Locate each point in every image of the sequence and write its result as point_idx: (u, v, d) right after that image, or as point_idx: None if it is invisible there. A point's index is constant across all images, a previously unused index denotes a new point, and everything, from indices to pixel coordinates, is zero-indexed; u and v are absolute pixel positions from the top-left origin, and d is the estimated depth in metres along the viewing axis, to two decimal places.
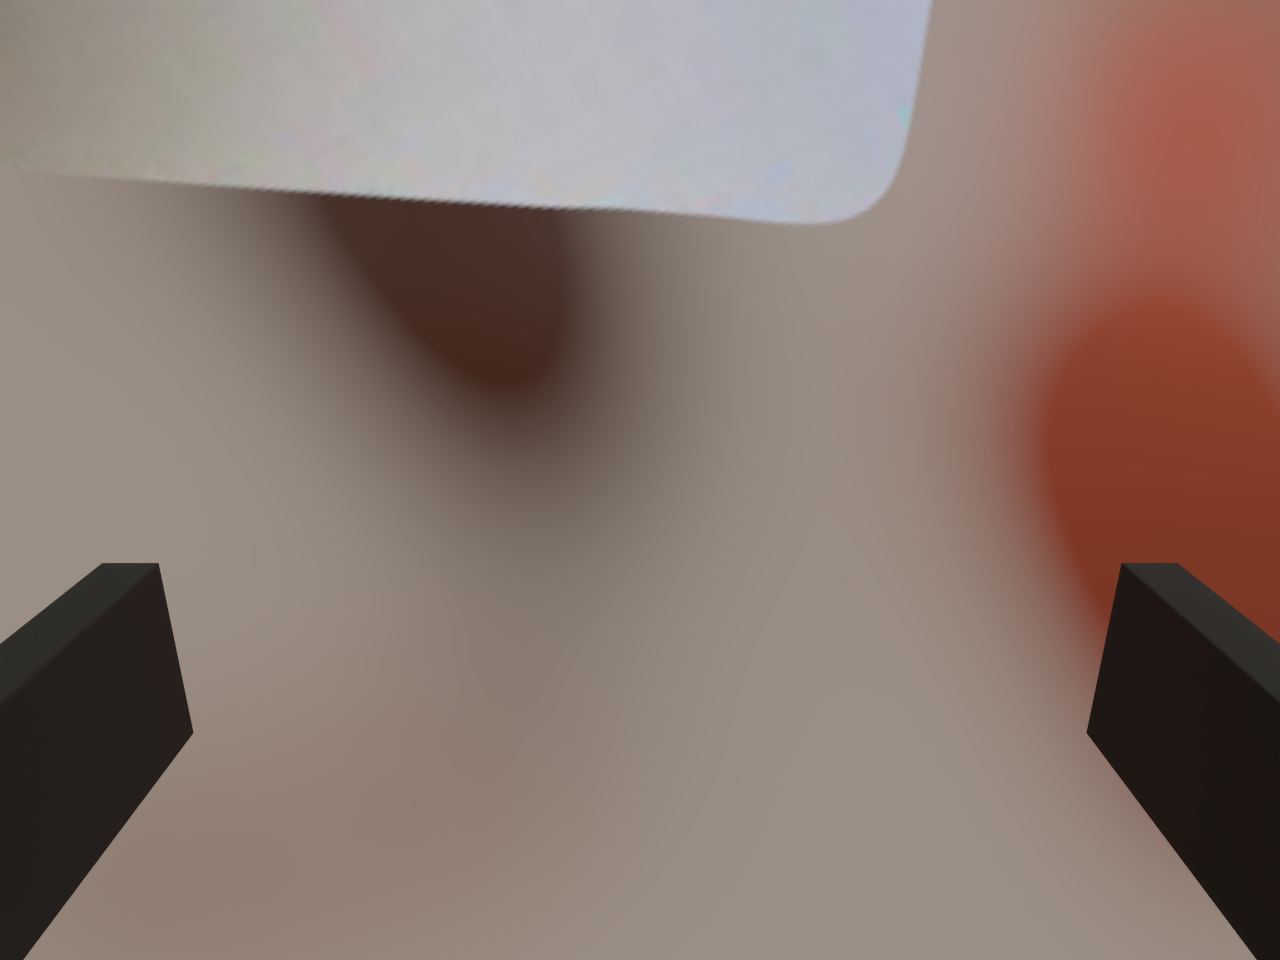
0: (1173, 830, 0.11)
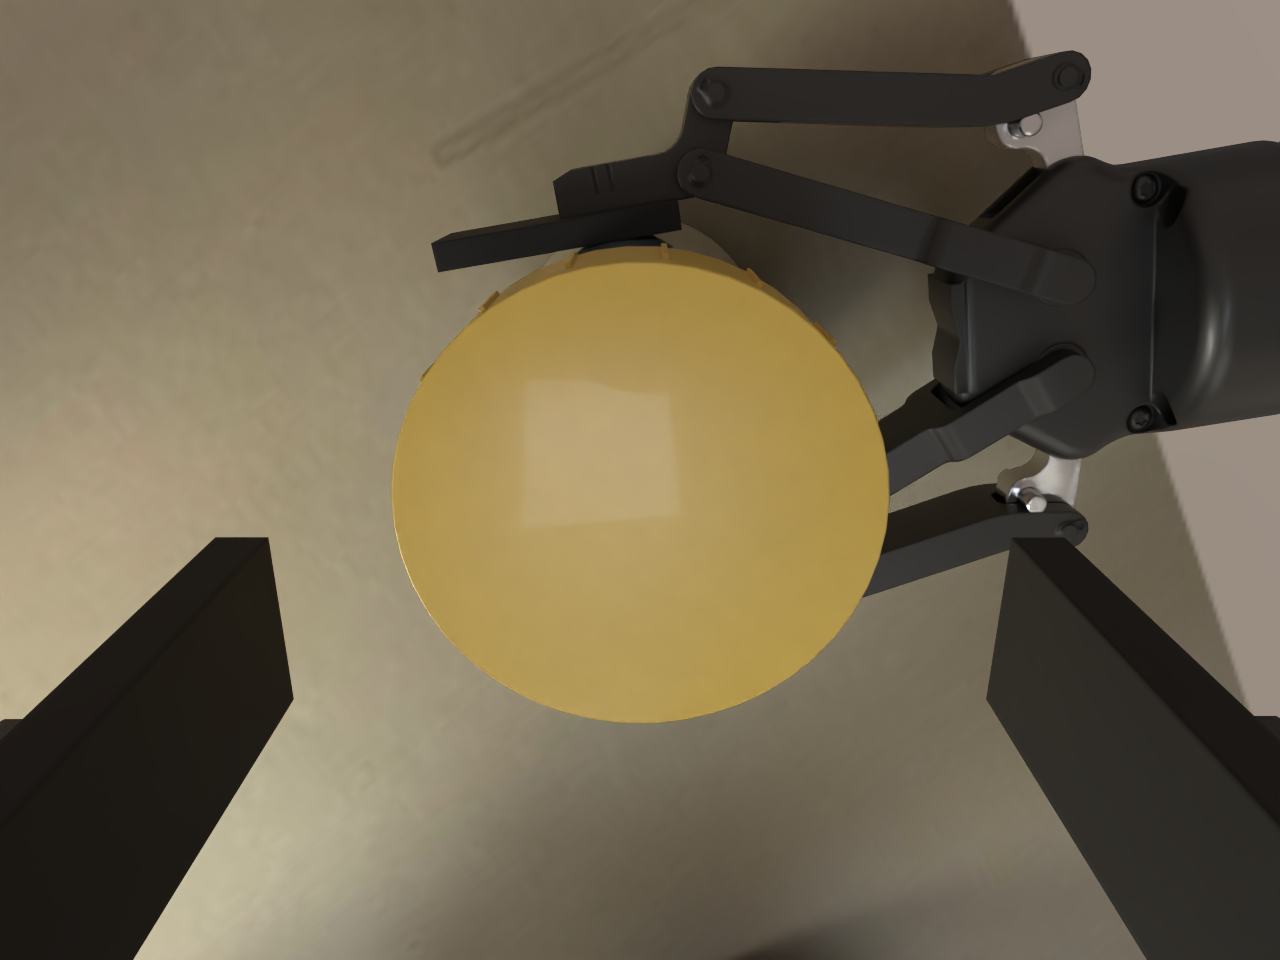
0: (1048, 784, 0.12)
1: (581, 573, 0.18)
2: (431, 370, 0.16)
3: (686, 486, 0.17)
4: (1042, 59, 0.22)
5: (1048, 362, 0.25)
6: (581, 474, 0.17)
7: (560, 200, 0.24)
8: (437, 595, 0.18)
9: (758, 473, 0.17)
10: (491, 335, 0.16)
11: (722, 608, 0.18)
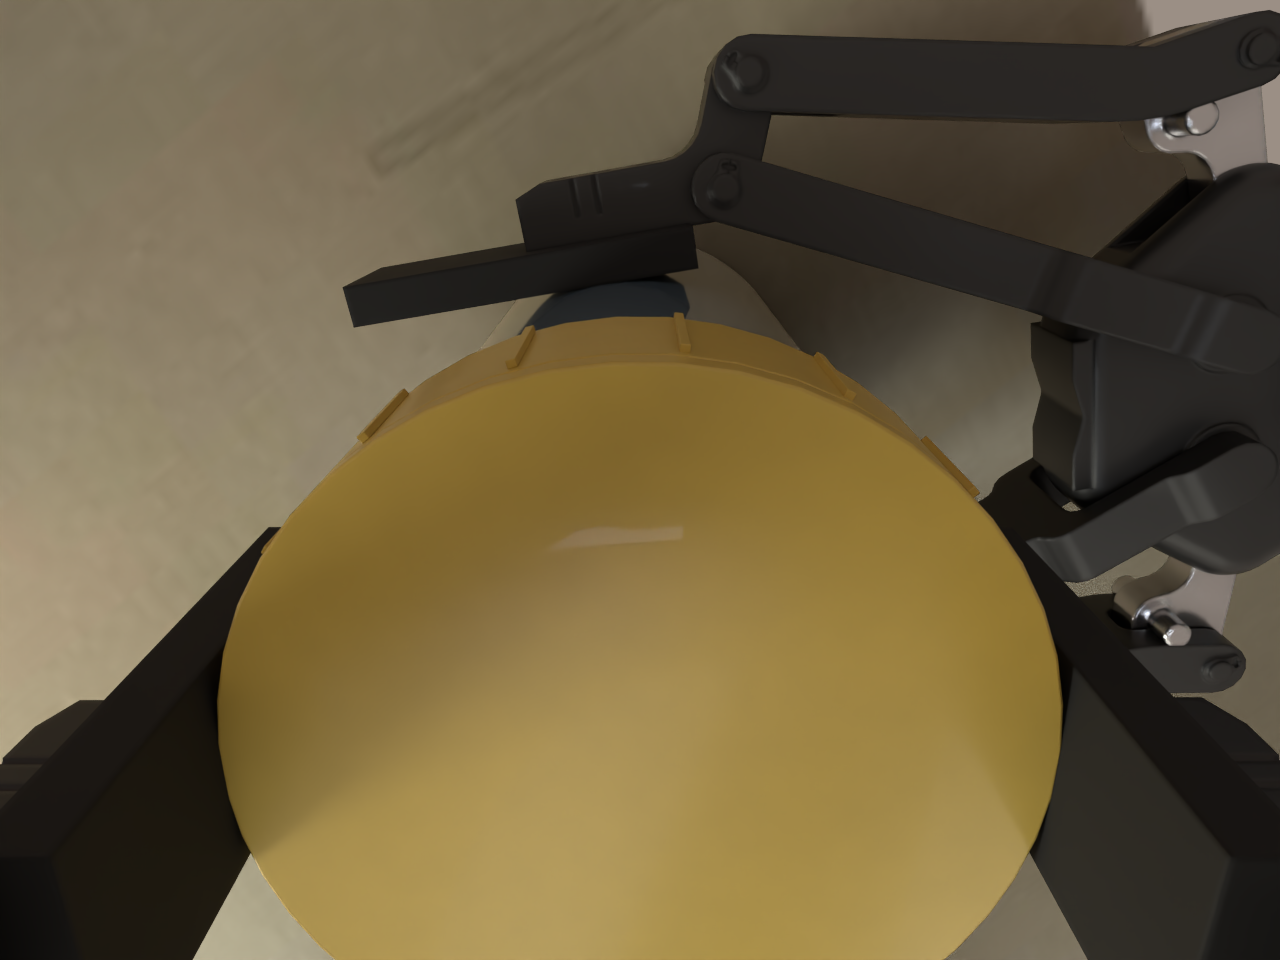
0: None
1: (542, 859, 0.11)
2: (271, 547, 0.09)
3: (718, 730, 0.10)
4: (1224, 23, 0.15)
5: (1209, 451, 0.18)
6: (539, 711, 0.10)
7: (527, 227, 0.17)
8: (305, 892, 0.11)
9: (841, 709, 0.10)
10: (374, 489, 0.09)
11: (774, 910, 0.11)
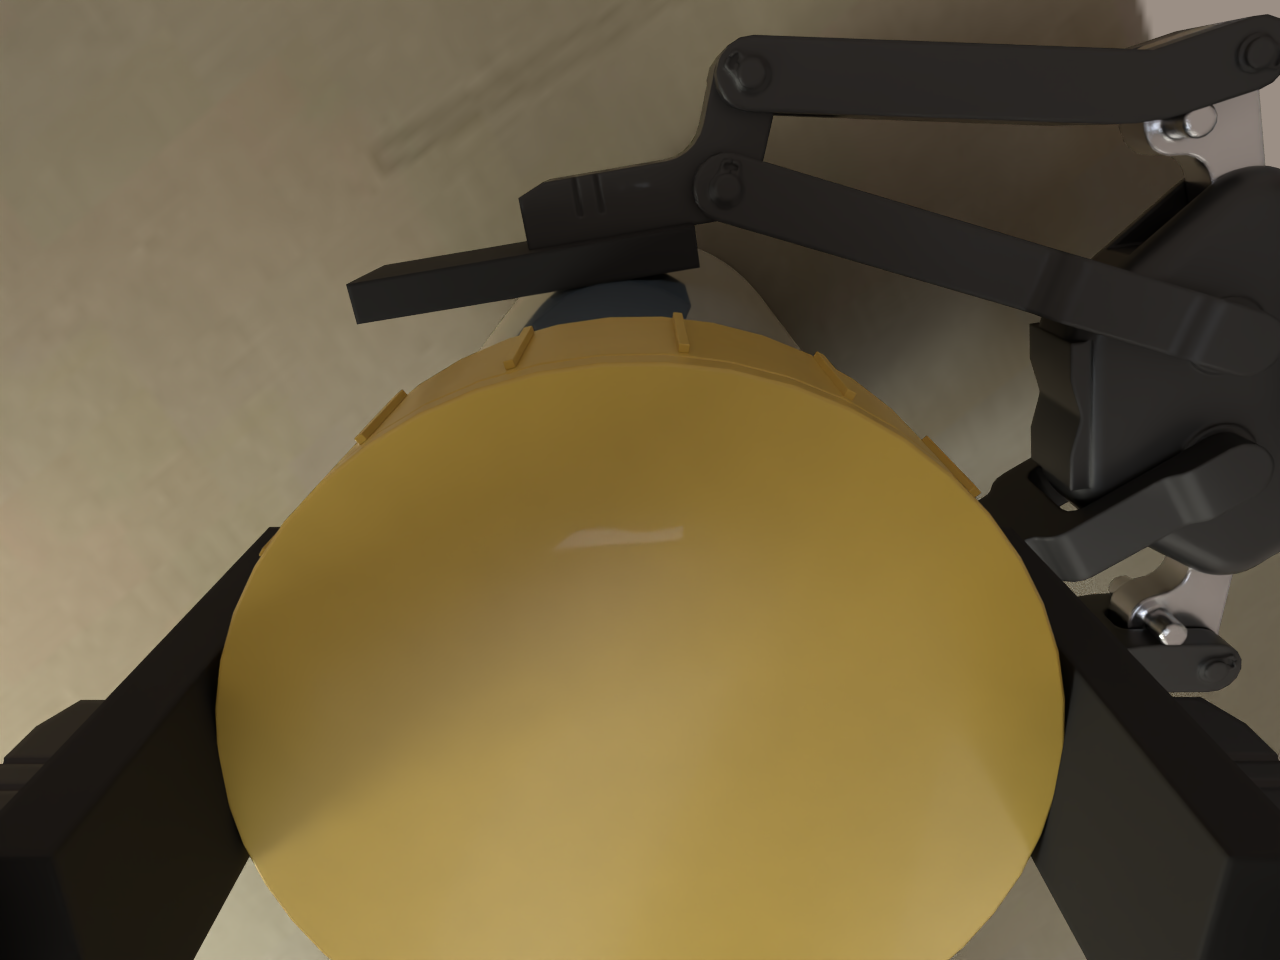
0: None
1: (771, 829, 0.10)
2: None
3: (567, 725, 0.10)
4: (1223, 27, 0.15)
5: (1206, 452, 0.18)
6: (599, 865, 0.11)
7: (530, 225, 0.17)
8: None
9: (505, 626, 0.10)
10: None
11: (782, 608, 0.09)
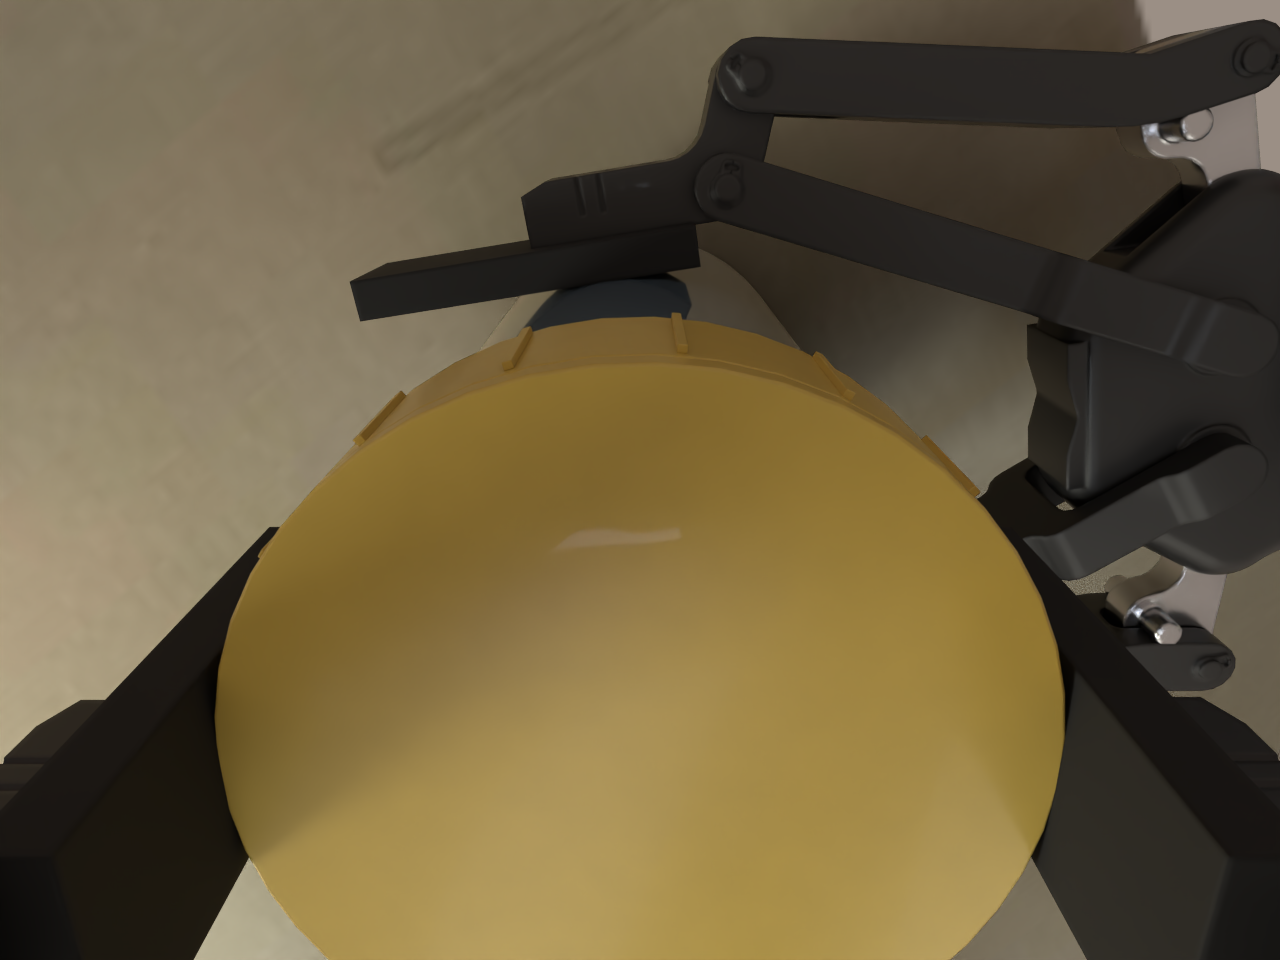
0: None
1: (670, 646, 0.10)
2: (1051, 805, 0.10)
3: (603, 843, 0.10)
4: (1220, 31, 0.16)
5: (1201, 452, 0.18)
6: (761, 783, 0.10)
7: (532, 224, 0.17)
8: (891, 476, 0.09)
9: (521, 904, 0.11)
10: (985, 882, 0.11)
11: (416, 713, 0.10)
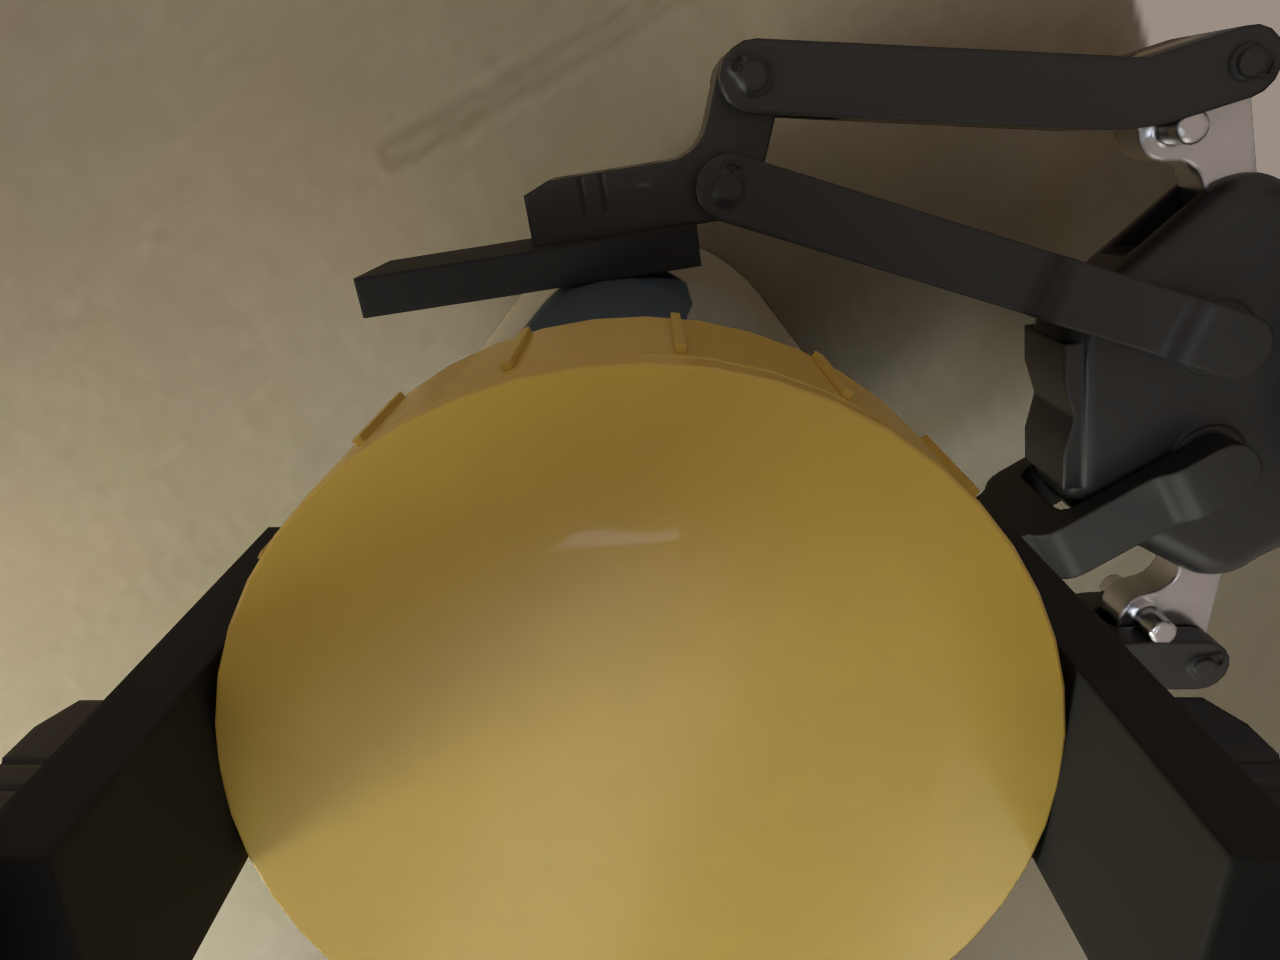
0: None
1: (490, 787, 0.10)
2: (543, 377, 0.09)
3: (731, 786, 0.10)
4: (1216, 36, 0.16)
5: (1196, 452, 0.18)
6: (614, 672, 0.10)
7: (535, 222, 0.17)
8: (254, 670, 0.10)
9: (830, 835, 0.10)
10: (675, 404, 0.09)
11: (629, 949, 0.11)
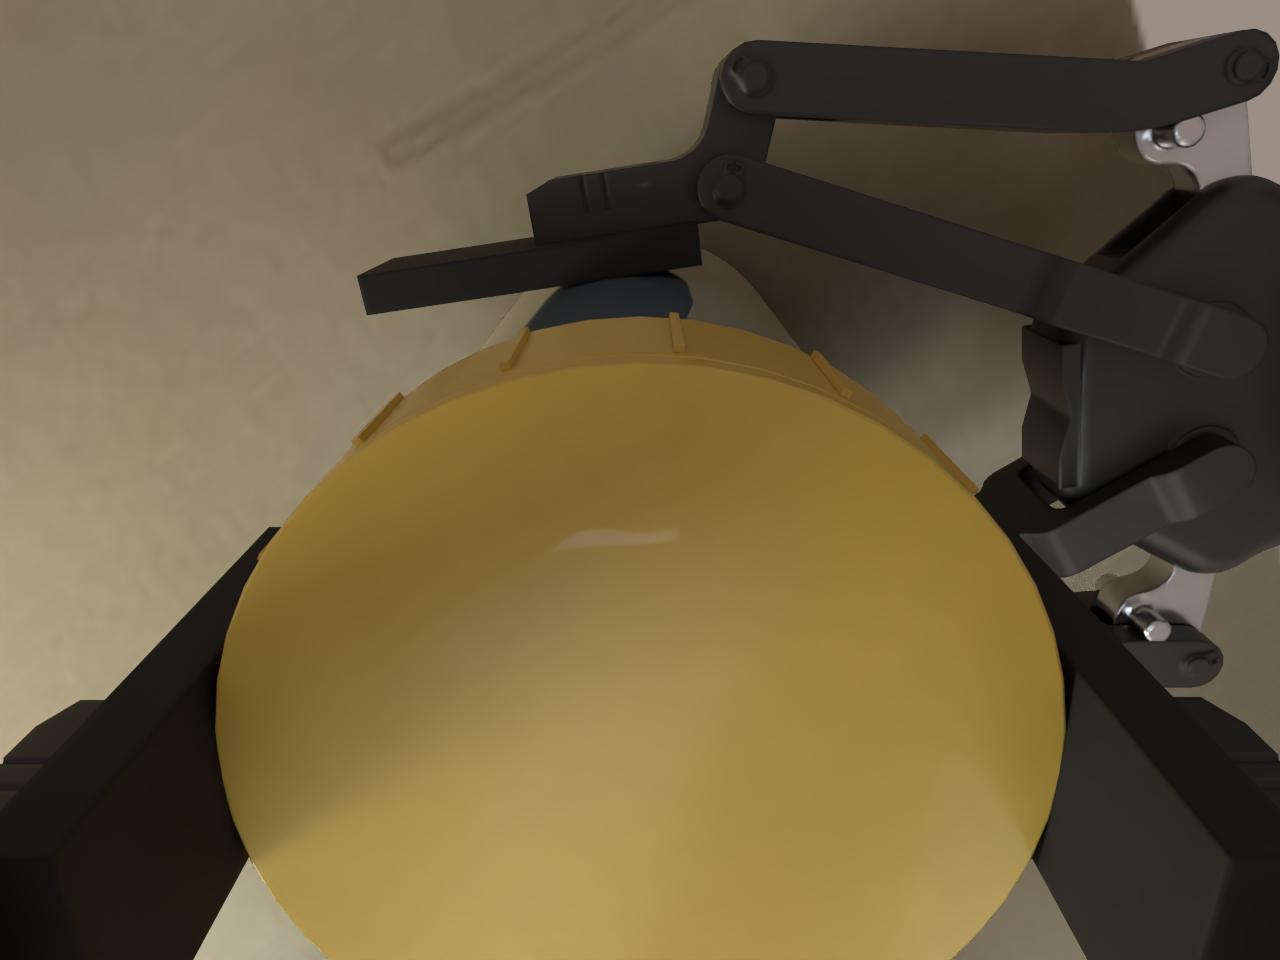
0: None
1: (692, 885, 0.11)
2: None
3: (627, 698, 0.10)
4: (1212, 40, 0.16)
5: (1191, 453, 0.18)
6: (534, 821, 0.10)
7: (537, 221, 0.18)
8: None
9: (660, 588, 0.09)
10: (272, 839, 0.10)
11: (869, 732, 0.10)
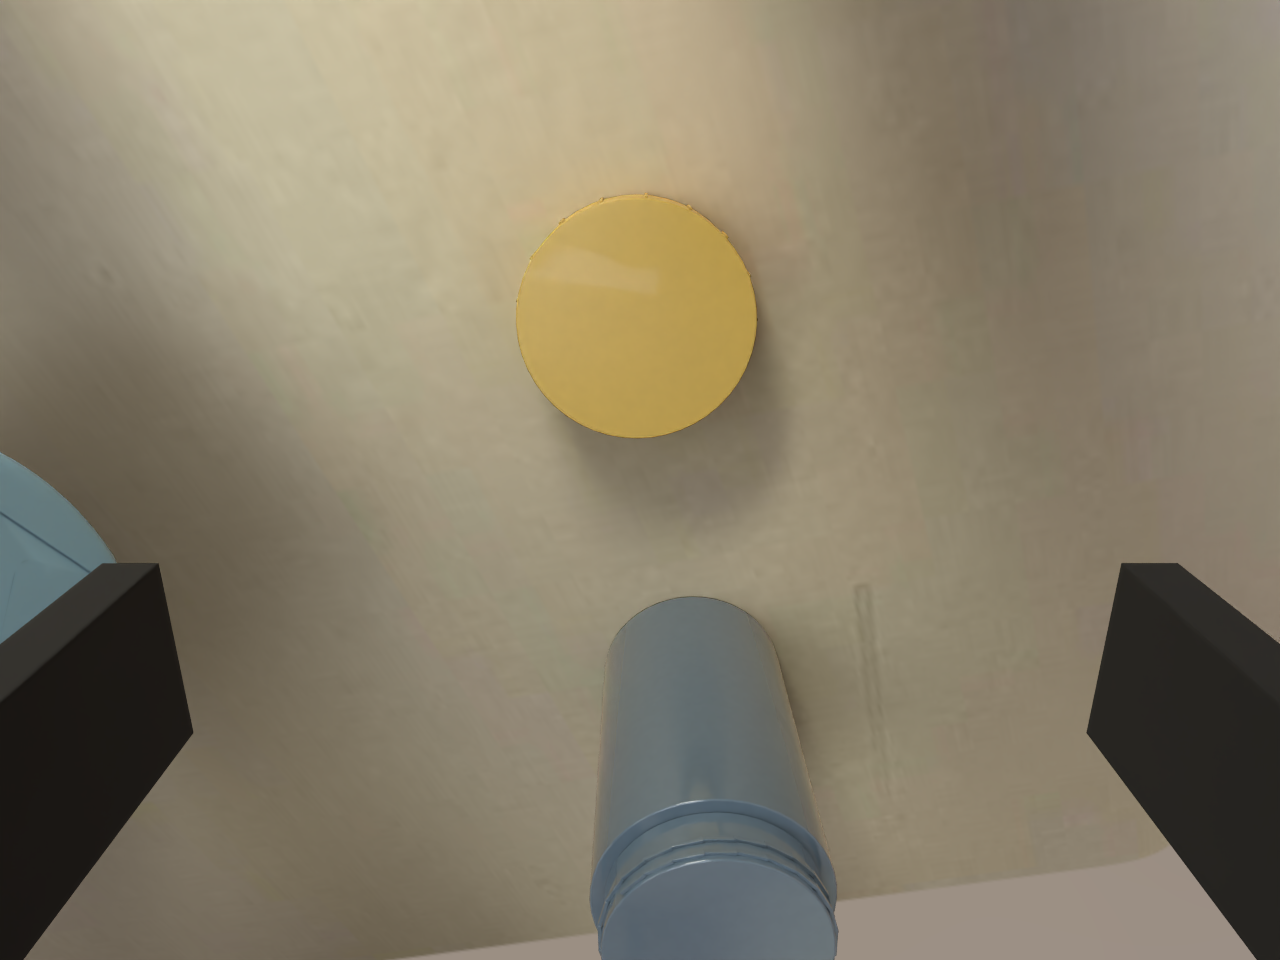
0: (1172, 830, 0.11)
1: (652, 363, 0.36)
2: (532, 377, 0.36)
3: (632, 297, 0.35)
4: None
5: None
6: (605, 340, 0.36)
7: None
8: (632, 429, 0.37)
9: (641, 262, 0.35)
10: (529, 346, 0.36)
11: (700, 308, 0.35)
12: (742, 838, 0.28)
